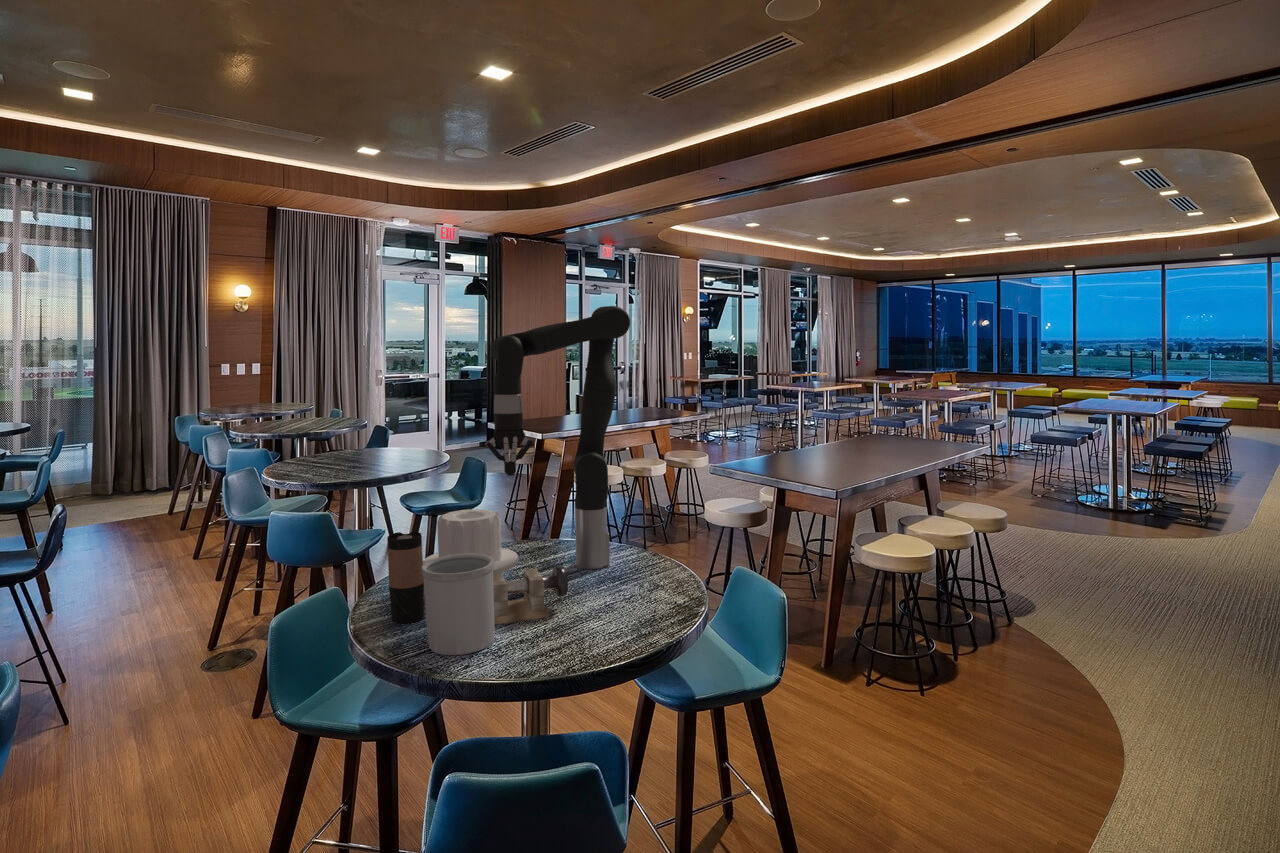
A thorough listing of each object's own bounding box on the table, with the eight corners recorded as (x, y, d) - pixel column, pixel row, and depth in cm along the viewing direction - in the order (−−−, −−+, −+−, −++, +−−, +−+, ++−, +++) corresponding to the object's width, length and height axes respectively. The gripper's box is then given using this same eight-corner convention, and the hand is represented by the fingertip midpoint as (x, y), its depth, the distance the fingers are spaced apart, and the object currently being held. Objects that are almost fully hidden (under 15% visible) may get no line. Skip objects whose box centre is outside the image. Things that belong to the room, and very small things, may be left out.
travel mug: (405, 628, 155) (401, 541, 153) (383, 621, 159) (379, 536, 157) (432, 617, 161) (428, 533, 159) (410, 610, 165) (406, 529, 163)
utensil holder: (409, 651, 142) (406, 569, 141) (453, 625, 156) (450, 550, 154) (469, 662, 137) (466, 576, 135) (509, 633, 151) (507, 556, 149)
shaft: (560, 590, 170) (560, 562, 169) (568, 599, 163) (567, 570, 163) (487, 599, 164) (486, 571, 163) (491, 609, 157) (491, 580, 156)
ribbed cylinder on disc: (469, 607, 167) (466, 531, 165) (402, 589, 181) (399, 518, 179) (537, 579, 188) (536, 511, 186) (473, 564, 202) (470, 501, 200)
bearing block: (539, 602, 170) (539, 567, 169) (549, 616, 161) (548, 579, 160) (486, 609, 165) (485, 573, 164) (493, 624, 156) (492, 586, 155)
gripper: (530, 409, 189) (531, 471, 190) (481, 411, 184) (483, 474, 186) (536, 411, 182) (537, 475, 183) (485, 413, 177) (487, 479, 179)
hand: (510, 475), depth 184 cm, fingers closed
